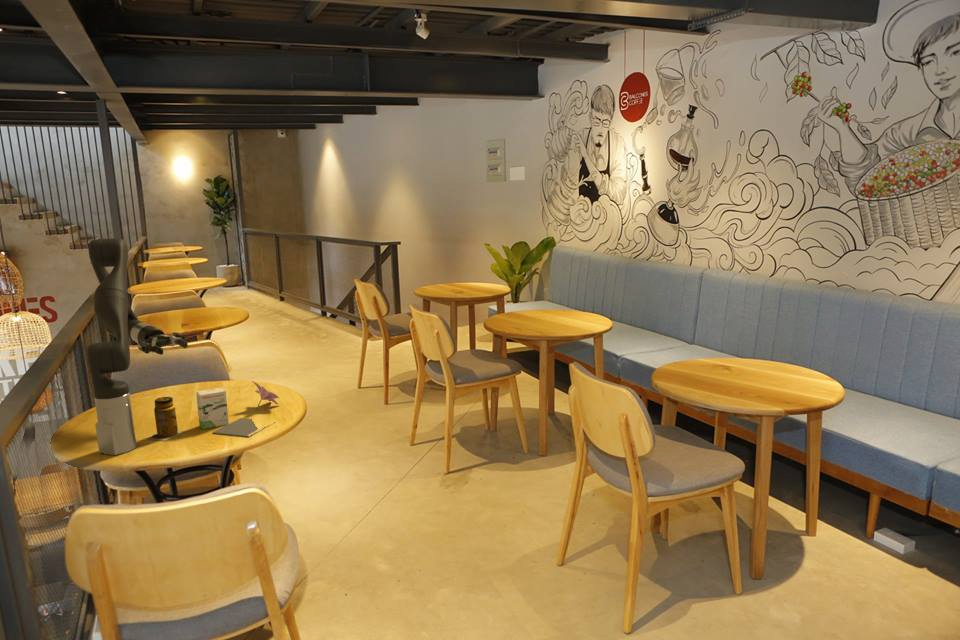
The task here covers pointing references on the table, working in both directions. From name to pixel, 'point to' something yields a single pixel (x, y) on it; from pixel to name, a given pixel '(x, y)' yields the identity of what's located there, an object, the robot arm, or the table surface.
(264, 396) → the lily
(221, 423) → the ink box
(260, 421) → the table surface
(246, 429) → the mat
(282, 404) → the table surface
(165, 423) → the condiment
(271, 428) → the table surface
